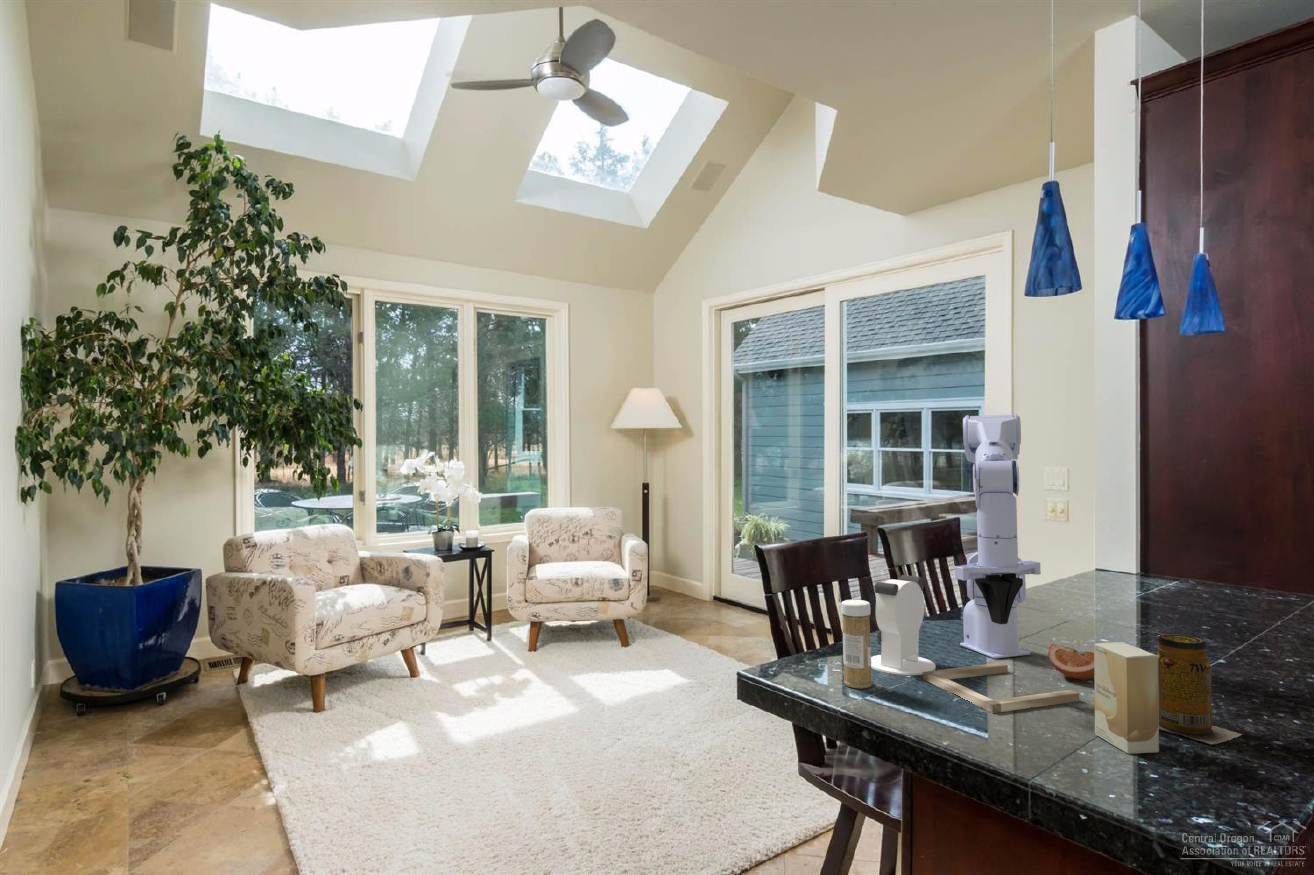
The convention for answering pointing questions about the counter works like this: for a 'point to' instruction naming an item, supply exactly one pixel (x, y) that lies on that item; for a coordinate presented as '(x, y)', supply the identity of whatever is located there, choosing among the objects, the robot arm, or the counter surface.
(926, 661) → the white two-tone upright fixture
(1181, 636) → the condiment
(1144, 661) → the skincare box
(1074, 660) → the fruit slice
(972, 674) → the frame
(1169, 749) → the counter surface
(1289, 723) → the counter surface
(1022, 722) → the counter surface
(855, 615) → the brown spice jar
